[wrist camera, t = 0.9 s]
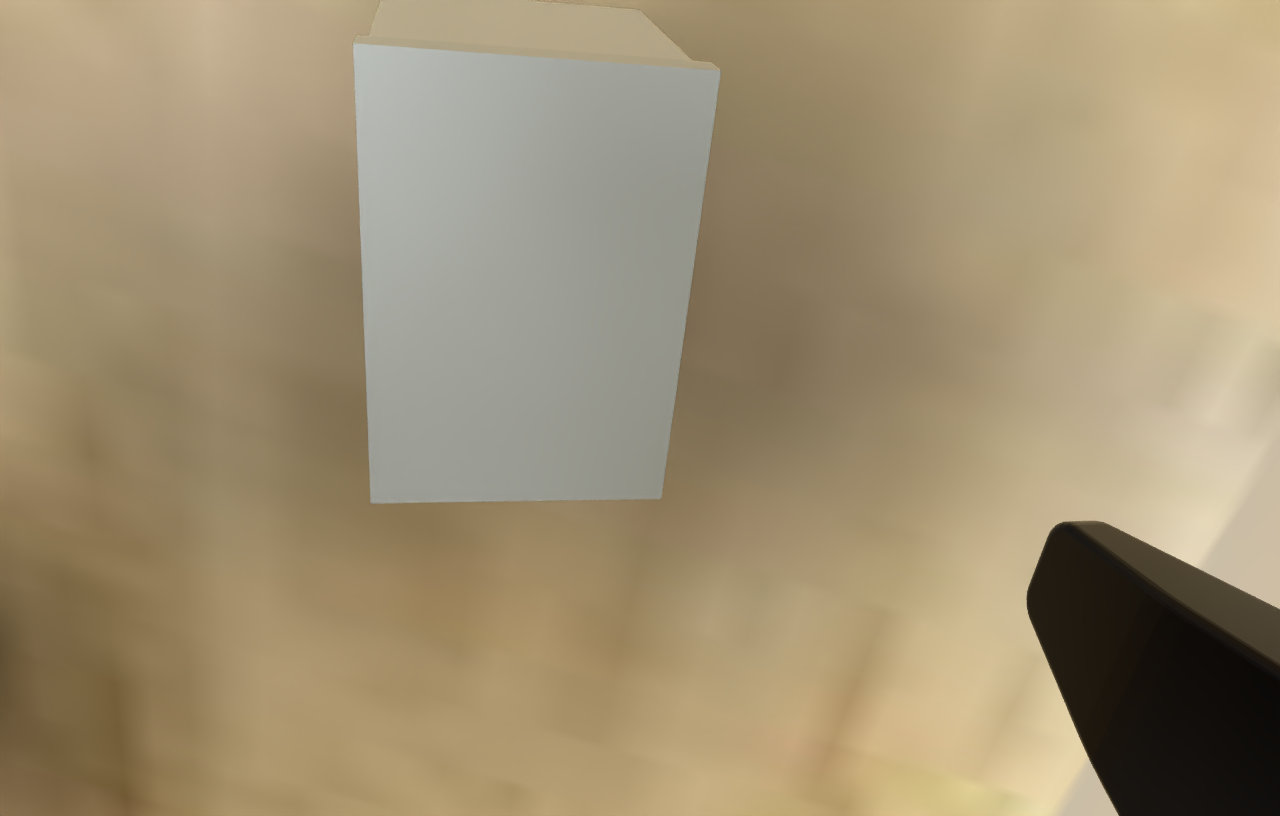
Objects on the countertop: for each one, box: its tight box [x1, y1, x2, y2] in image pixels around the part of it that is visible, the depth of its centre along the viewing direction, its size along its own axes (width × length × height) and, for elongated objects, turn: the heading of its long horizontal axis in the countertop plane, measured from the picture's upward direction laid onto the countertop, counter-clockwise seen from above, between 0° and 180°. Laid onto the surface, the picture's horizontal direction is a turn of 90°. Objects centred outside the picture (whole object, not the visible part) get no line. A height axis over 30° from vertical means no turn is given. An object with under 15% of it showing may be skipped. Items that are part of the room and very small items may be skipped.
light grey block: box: [353, 0, 721, 504], centre depth 15 cm, size 6×4×5 cm
